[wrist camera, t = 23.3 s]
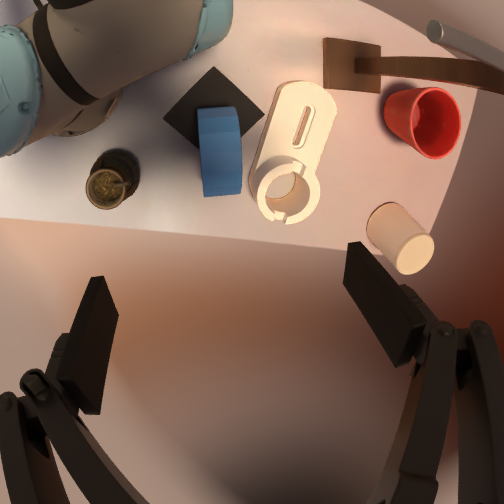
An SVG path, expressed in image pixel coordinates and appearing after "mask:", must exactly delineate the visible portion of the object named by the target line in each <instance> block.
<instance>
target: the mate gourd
mask: <svg viewBox="0 0 504 504" xmlns="http://www.w3.org/2000/svg"><path fill="white" fill-rule="evenodd" d="M138 184H139V171H138V168H137V165H136V163H135V161H134V160H133V159H132V158H131V157H130V156H128V155H127V154H125V153H122V152H111V153H106V154H104V155H102V156H100V157H99V158H98V159H97V161H96V162H95V163H94V165H93V167H92V169H91V171H90V176H89V178H88V179H87V182H86V194H87V197H88V199H89V201H90V202H91V203H92V204H93V205H94V206H96V207H98V208H100V209H106V210H108V209H113V208H115V207H117V206H118V205H120V204H121V202H122V201H124V200H126V199H127V198H128V197H130V196H132V195H133V193H134V192H135V190H136V189H137V187H138Z"/></svg>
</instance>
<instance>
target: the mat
mask: <svg viewBox="0 0 504 504" xmlns="http://www.w3.org/2000/svg"><path fill="white" fill-rule="evenodd" d="M230 106H233V107H235V108H236V112H237V116H238V121H239V128H240V137H242V136H243V135H244V134H245V133H246V132H247V131H248V130H249V129H250V128H251V127H252V126H253V125H254V124H255V123H256V122H257V121H258V120H259V119H260V118H262V117H263V116H264V115H265V114H264V113H263V112H262V111H261V110H260V109H259V108H258V107H257V106H256V105H255V104H254V103H253V102H252V101H251V100H250V99H249V98H248V97H247V96H246V95H245V94H244V93H243V92H241V91H240V90H239V89H238V88H237V87H236V86H235V85H234V84H233V83H232V82H231V81H230V80H229V79H228V78H226V77H225V76H224V75H223V74H222V73H221V72H220V71H219V70H218V69H216V68H215V67H213V68H211V69H210V70H209V71H208V72H207V73H206V74H205V75H204V76H203V77H202V78H201V79H200V80H199V81H198V82H197V83H196V84H195V85H194V86H193V87H192V88H191V89H190V90H189V91H188V92H187V93H186V94H185V95H184V96H183V97H182V98H181V99H180V100H179V101H178V103H177V104H176V105H175V106H174V107H173V108H172V109H171V110H170V111H169V112H168V113H167V114H166V116H165V117H164V118H163V119H164V120H165V121H166V122H167V123H169V124H170V125H171V126H172V127H173V128H175V129H176V130H177V131H178V132H179V133H180V134H182V135H183V136H184V137H185V138H186V139H187V140H189V141H190V142H191V143H192V144H193V145H194V146H196V147H197V148H198V149H199V150H200V145H199V130H198V112H197V109H203V108H215V107H230Z"/></svg>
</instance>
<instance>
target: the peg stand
mask: <svg viewBox="0 0 504 504" xmlns="http://www.w3.org/2000/svg"><path fill="white" fill-rule="evenodd" d="M426 35H427V38H428V39H429V40H430V41H431V42H432V43H435V44H438V45H441V46H444V47H446V48H449V49H452V50H455V51H457V52H460V53H462V54H465V55H467V56H470V57H472V58H474V59H477V60H479V61H474V60H465V59H454V58H440V57H408V56H399V57H381V46H379V45H374V44H368V43H363V42H357V41H350V40H344V39H336V38H328V37H327V38H323V58H324V89H338V90H350V91H361V92H370V93H378V94H380V87H381V76H394V77H405V78H415V79H423V80H431V81H438V82H445V83H451V84H457V85H462V86H467V87H472V88H477V89H482V90H486V91H491V92H495V93H499V94H503V95H504V52H503V51H501V50H499V49H497V48H495V47H493V46H492V45H490V44H488V43H486V42H484V41H482V40H480V39H478V38H476V37H474V36H472V35H470V34H468V33H466V32H464V31H461V30H459V29H457V28H455V27H452V26H450V25H447V24H445V23H443V22H440V21H438V20H431V21H430V22H429V23H428V24H427V27H426Z"/></svg>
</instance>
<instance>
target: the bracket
mask: <svg viewBox="0 0 504 504" xmlns="http://www.w3.org/2000/svg"><path fill="white" fill-rule="evenodd" d="M305 106H306V107H307V111H306V114H305V117H304V120H303V122H302V125H301V128H300V131H299V134H298V137H297V140H296V142H295V143H292V140H293V137H294V134H295V131H296V129H297V126H298V123H299V120H300V117H301V114H302V111H303V108H304V107H305ZM336 113H337V108H336V105H335V102H334V100H333V98H332V97H331V95H330V94H329V93H328V92H327V91H326V90H325V89H323V88H322V87H320V86H319V85H317V84H314V83H311V82H303V81H295V82H289V83H286V84H283V85H281V86H280V87H279V88H278V89H277V92H276V95H275V98H274V101H273V104H272V107H271V110H270V113H269V116H268V119H267V122H266V125H265V128H264V131H263V134H262V138H261V141H260V144H259V147H258V150H257V153H256V156H255V159H254V163H253V166H252V169H251V172H250V176H249V186H250V189H251V192H252V194H253V196H254V198H255V200H256V202H257V204H258V206H259V208H260V210H261V212H262V213H263V215H264V216H265V217H266V218H268V219H269V220H271V221H272V222H274V219H277V220H283V222H284V224H285V225H286V224H294V223H297V222H299V221H302V220H303V219H305V218H306V217H308V216H309V215H310V214H311V213H312V212H313V210H314V209H315V207H316V206H317V203H318V201H319V197H320V185H319V182H318V179H317V177H316V176H315V174H314V173H315V171H316V168H317V165H318V163H319V160H320V157H321V154H322V152H323V149H324V146H325V143H326V141H327V138H328V135H329V132H330V130H331V127H332V124H333V121H334V118H335V116H336ZM291 171H294V172H295V175H296V182H295V186H294V188H293V189H292V191H291V192H290V193H289V194H288V195H286V196H285V197H283V198H279V199H270V198H267V197H265V195H266V190H267V188H268V186H269V184H270V183H271V182H272V181H273V180H274V179H275V178H276V177H278V176H280V175H283V174H288V173H291Z"/></svg>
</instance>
